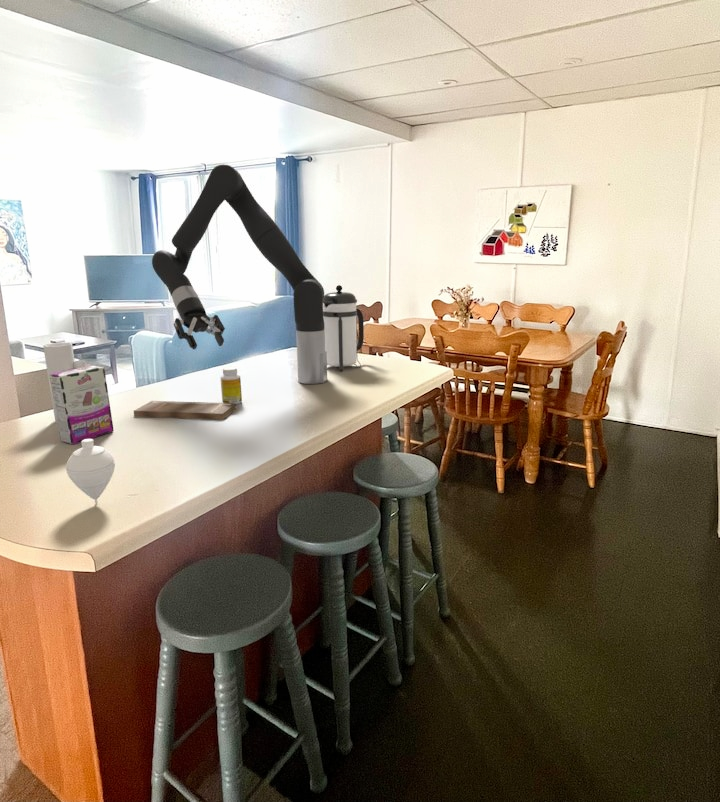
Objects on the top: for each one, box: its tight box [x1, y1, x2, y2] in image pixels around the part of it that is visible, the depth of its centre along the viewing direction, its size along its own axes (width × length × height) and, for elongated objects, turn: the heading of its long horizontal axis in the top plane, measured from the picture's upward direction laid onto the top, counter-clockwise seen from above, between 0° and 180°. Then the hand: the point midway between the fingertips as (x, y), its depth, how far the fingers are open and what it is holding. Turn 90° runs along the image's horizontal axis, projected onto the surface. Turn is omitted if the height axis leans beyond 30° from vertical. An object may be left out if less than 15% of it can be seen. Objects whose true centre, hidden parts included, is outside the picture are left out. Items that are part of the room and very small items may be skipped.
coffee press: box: [323, 284, 365, 372], centre depth 208 cm, size 17×16×30 cm
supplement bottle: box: [220, 366, 243, 405], centre depth 163 cm, size 6×6×10 cm
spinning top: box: [65, 438, 116, 505], centre depth 99 cm, size 8×8×12 cm
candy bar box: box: [49, 364, 115, 445], centre depth 134 cm, size 11×5×16 cm, turn 148°
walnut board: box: [133, 400, 238, 420], centre depth 155 cm, size 25×10×2 cm, turn 82°
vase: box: [42, 342, 87, 424], centre depth 147 cm, size 11×7×20 cm, turn 66°
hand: (208, 346), depth 169 cm, fingers open, 8 cm apart
